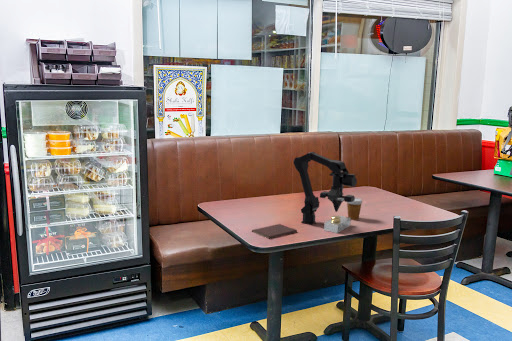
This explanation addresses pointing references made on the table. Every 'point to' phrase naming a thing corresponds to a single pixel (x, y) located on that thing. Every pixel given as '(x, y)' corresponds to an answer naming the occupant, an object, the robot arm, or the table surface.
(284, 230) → the notebook
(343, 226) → the grey white block
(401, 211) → the table surface
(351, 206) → the disposable coffee cup
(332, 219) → the brass pin
